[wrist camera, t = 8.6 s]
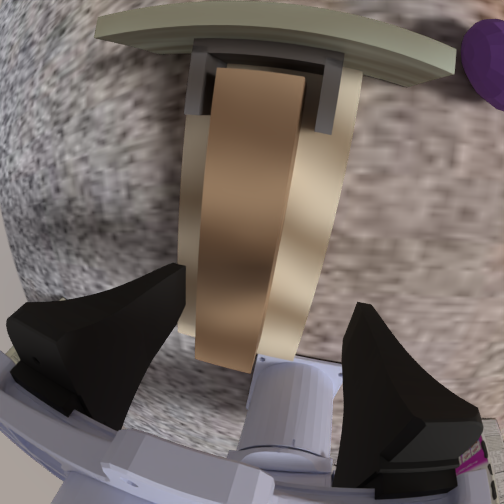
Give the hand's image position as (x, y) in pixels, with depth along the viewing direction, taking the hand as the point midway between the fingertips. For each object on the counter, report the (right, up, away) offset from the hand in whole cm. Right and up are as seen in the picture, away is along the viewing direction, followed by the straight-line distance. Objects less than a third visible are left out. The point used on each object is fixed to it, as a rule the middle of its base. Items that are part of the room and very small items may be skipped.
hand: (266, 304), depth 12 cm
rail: (-1, +4, +7) cm, 8 cm away
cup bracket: (0, +5, +8) cm, 9 cm away
